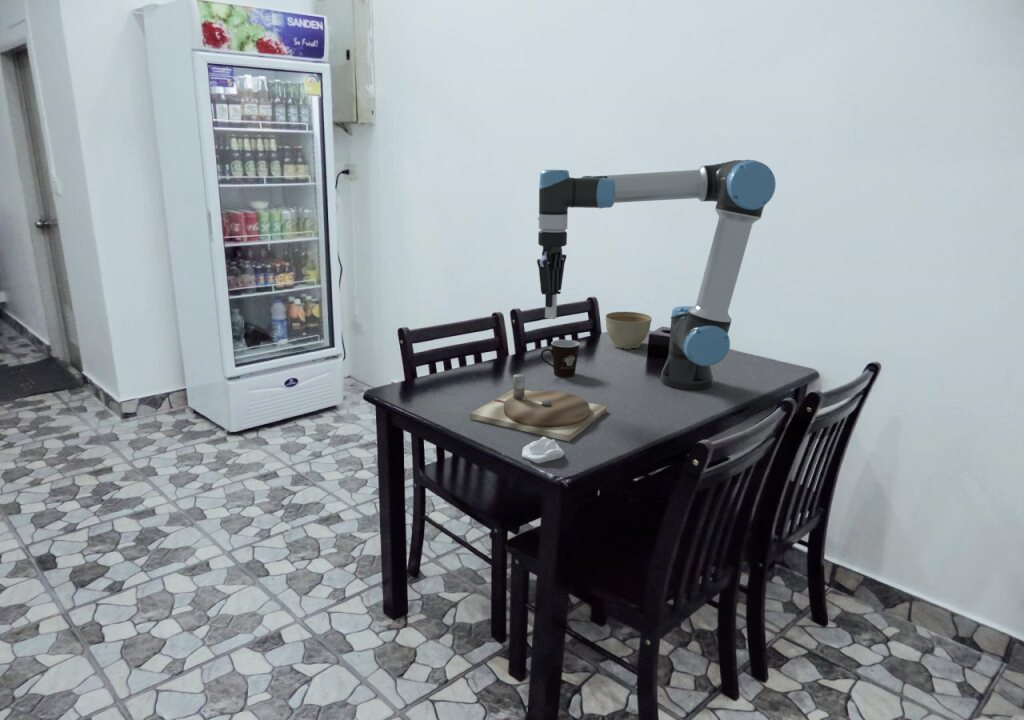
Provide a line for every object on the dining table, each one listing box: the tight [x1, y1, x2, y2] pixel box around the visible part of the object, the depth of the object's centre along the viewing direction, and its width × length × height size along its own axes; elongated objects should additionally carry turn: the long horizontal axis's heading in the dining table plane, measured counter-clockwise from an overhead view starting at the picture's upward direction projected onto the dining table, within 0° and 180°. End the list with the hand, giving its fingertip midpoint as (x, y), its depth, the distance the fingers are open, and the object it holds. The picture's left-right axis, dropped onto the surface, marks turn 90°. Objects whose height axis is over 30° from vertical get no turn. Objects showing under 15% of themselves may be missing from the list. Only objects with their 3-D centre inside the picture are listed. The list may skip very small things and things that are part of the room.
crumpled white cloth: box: [521, 436, 565, 464], centre depth 152 cm, size 10×4×10 cm
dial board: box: [469, 389, 608, 442], centre depth 176 cm, size 28×23×2 cm
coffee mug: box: [540, 339, 580, 379], centre depth 209 cm, size 12×9×10 cm
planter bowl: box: [605, 311, 653, 350], centre depth 241 cm, size 16×16×11 cm
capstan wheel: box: [504, 373, 589, 427], centre depth 174 cm, size 22×22×8 cm
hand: (550, 317), depth 185 cm, fingers closed
